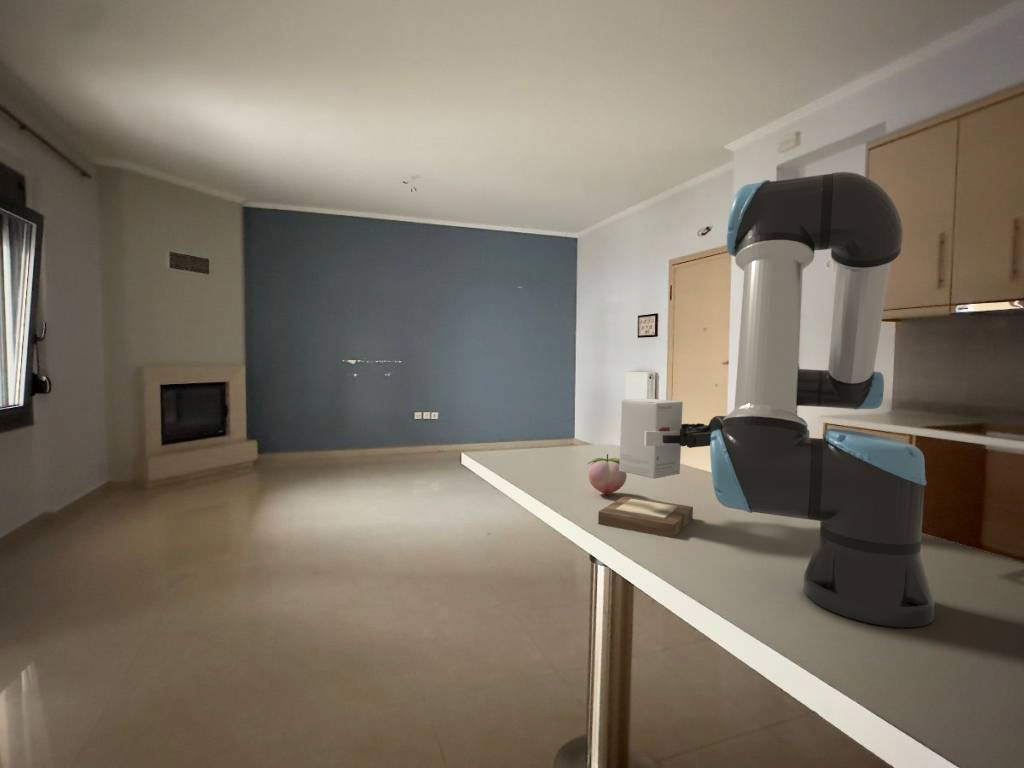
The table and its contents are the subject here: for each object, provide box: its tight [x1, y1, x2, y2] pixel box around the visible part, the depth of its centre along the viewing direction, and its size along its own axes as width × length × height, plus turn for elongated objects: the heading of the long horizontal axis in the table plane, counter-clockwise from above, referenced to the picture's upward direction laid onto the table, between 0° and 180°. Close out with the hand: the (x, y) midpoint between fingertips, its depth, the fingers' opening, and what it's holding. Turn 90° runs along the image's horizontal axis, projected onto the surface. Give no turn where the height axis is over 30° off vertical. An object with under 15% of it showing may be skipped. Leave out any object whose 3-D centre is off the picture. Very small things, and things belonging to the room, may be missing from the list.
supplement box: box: [619, 398, 684, 480], centre depth 111 cm, size 9×9×15 cm
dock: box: [597, 495, 694, 539], centre depth 112 cm, size 15×15×3 cm
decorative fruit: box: [587, 454, 628, 496], centre depth 133 cm, size 9×8×10 cm
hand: (633, 433), depth 111 cm, fingers closed on supplement box, 12 cm apart
